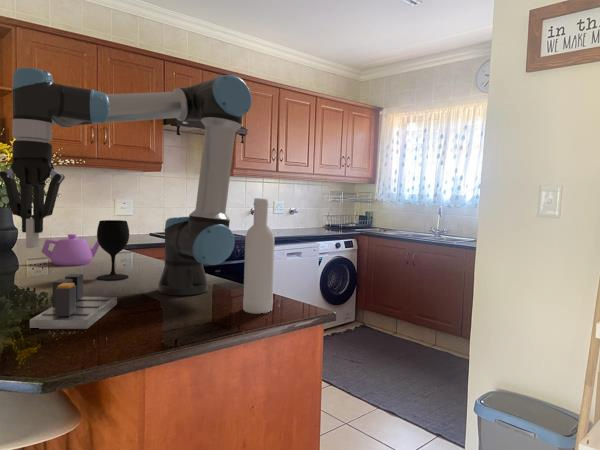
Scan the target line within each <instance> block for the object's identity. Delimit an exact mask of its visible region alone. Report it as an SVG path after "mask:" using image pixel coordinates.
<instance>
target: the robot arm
mask: <svg viewBox="0 0 600 450" xmlns="http://www.w3.org/2000/svg"><path fill="white" fill-rule="evenodd" d="M11 92H12V94H11V95H12V97H11V98H12V136H11V137H12V138H13V139H14V140H13V142H12V163H11V164H10V168H9V169H6V170H5V171H0V178H1V180H2V181H3V183H4V186H5V190H6V194H7V199H8V201H9V207H10V211H11V213H12V215H13V216H17V217H19V218H20V219H21V231H22V233H25V249H35V248H39V247H40V244H39V243H40V239H39V238H40V234H41V233H43V231H44V218H45V217H46V218H47V217H50V216H52V215H53V212H54V208H55V204H56V201H57V197H58V194H59V190H60V186H61V184H62V182H63V181H64V180H65V178H66V177H65V175H64V174H63V173H62V174H61V173H59V172H58V171H56V170H55V167H54V165H53V163H52V161H53V145H52V144H51V143H50V142H52V141H53V124H54V125H56V126H58V127H61V128H71V127H74V126H83V125H85V126H86V125H95V124H96V125H97V124H110V123H125V122H138V121H149V120H150V121H151V120H153V121H155V120H165V119H176V120H177V121H180V122H184V121H185V122H186V121H198V122H201V123H202V125H204V128H205V129H204V134H203V135H204V137H203V143H202V144H203V146H202V153H201V160H200V170H199V176H198V185H197V196H196V202H195V209H194V210H193V211H192V212H191V213H189V215H188V216H177V217H169V218H167V219H166V220H165V226H164V227H165V228H164V267H163V270H162V271H161V272H162V273H161V275H160V279H159V282H158V291H157V292H158V293H160V294H163V295H168V296H193V295H200V294H204V293H206V292H208V290H209V281H208V279H207V275H206V271H205V269H204V265H207V266H208V265H212V266H215V265H219V264H222V263H224V262H225V261H226V260H227V259H228V258H229V257H230V256H231V254H232V253H233V251H234V248H235V241H236V240H235V236H234V233H233V232H232V230H231V229H230V223H231V222H230V221H231V219H230V217H229V216H228V215H227V213H226V211H227V202H228V194H229V185H230V178H231V170H232V161H233V153H234V146H235V145H234V144H235V137H236V133H237V131H239V130H240V129H241V128H242V123H243V122H242V121H243V117H244V115H246V114H247V113H248V112H249V111H250V109H251V108H252V103H253V100H252V99H253V97H252V93H251V89H250V88H249V87H248V86H247V84H246V82H245V81H244V80H243V79H242V78H240V77H239V76H237V75H234V74H225V75H219V76H217V77H214V78H212V79H208V80H207V81H203V82H200V83H197V84H195V85H192V86H186V87H176V88H174V89H173V90H172V91H162V92H161V91H159V92H156V91H155V92H136V93H134V92H132V93H131V92H130V93H108V94H106V93H105V92H102V91H98V90H95V89H94V88H93V89H92V88H90V89H89V88H83V87H78V86H77V87H76V86H71V85H66V84H65V85H64V84H59V83H57V82H54V79H53V75H52V74H51V73H50V72H49V71H47V70H43V69H41V68H35V67H34V68H33V67H18V68H16V69H15V70H13V77H12V88H11ZM16 177H17V178H18V180H19V188H20V192H19V190H18V184H17V182H16ZM49 178H50V181H49V184H48V187H47V192H46V195H45V188H46V181H47V180H48V179H49Z"/></svg>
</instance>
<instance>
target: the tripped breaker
mask: <svg viewBox="0 0 600 450" xmlns="http://www.w3.org/2000/svg"><path fill="white" fill-rule="evenodd" d="M75 312H76V285H74V283H62V284H60V285H58V286H57V288H56V289H55V316H70V315H72V314H73V313H75Z"/></svg>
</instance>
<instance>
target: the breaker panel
mask: <svg viewBox="0 0 600 450" xmlns="http://www.w3.org/2000/svg"><path fill="white" fill-rule="evenodd" d="M62 283H74V285H76V312H75V313H73V314H72V315H70V316H55V289H56V288H57V286H58V285H60V284H62ZM117 304H118V297H117V296H84V274H83V273H70V274H68V275H65V276H64V278H59V279H57V280H55V281H52V306H51V307H49V308H47V309H46V310H44V311H43V312H41V313H39V314H37V315H35V316H34V317H32V318H31V319H29V329H30V328H39V329H40V330H44V329H45V330H47V329H48V330H63V329H64V330H66V329H67V330H73V329H74V330H75V329H76V330H86V329H87V330H88V329H89V328H90V327H91V326H92V325H94V324H95V323H96V322H97V321H99V320H100V319H101V318H102V317H103V316H104V315H106V314H107V313H108V312H109V311H110V310H112V309H113V308H114V307H115V306H117ZM39 329H38V330H39Z"/></svg>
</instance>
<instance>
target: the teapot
mask: <svg viewBox="0 0 600 450" xmlns="http://www.w3.org/2000/svg"><path fill="white" fill-rule="evenodd" d="M50 244H52V245H54V246H53V248H52V250H50V249H49V248H50ZM99 247H100V245H99V243H98V240H96V242H95V244H94V246H93V247H91V246H90V245H89V243H88V241H86V239H85V238H81V237H77V234H76V233H69V234H67V237H66V238H65V237H64V238H63V237H62V238H59V239H58V240H55V239H49V238H47V239H45V241H44V244H43V247H42V249H41V253H42V254H43V255H44V256H46V257H47V258H48V259H50V261H51V262H52V263H53V264H54V265H55V266H60V267H61V266H63V267H73V266H84V265H88V264H89V263H91V261H92V260H93V259H94V257H95V256H96V253H97V252H98V249H99Z"/></svg>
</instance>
